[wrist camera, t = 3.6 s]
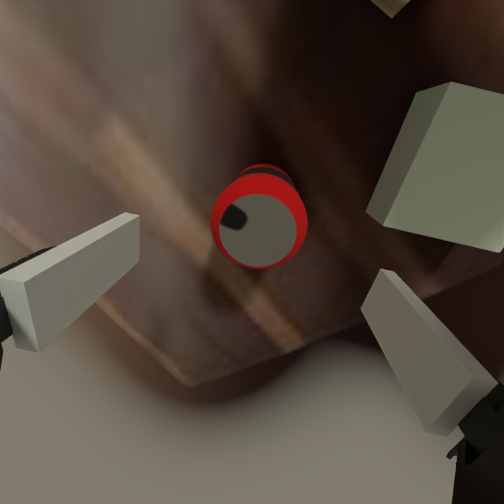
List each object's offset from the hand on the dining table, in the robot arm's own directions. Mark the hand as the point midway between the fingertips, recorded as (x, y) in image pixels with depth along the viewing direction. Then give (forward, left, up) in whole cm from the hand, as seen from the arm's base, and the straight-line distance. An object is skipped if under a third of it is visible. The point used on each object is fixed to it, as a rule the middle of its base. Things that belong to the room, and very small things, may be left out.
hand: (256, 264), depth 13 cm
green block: (+18, +7, -17) cm, 26 cm away
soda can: (0, 0, -17) cm, 17 cm away
